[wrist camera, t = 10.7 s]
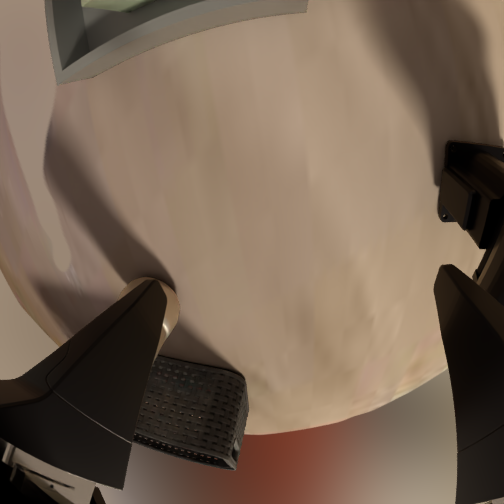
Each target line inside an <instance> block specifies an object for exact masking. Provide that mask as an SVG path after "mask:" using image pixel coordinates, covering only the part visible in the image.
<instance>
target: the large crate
mask: <svg viewBox="0 0 504 504" xmlns="http://www.w3.org/2000/svg"><path fill="white" fill-rule="evenodd" d="M307 5H308V0H156V1H153V2H151V3H149V4H147V5H144V6H142V7H140V8H138V9H136V10H134V11H132V12H130V13H125V12H119V11H113V10H106V9H98V8H89V7H82V5H81V0H45V13H46V22H47V32H48V39H49V45H50V51H51V57H52V62H53V68H54V72H55V77H56V82H57V86H58V85H62V84H66V83H70V82H75V81H79V80H84V79H89V78H93V77H95V76H97V75H98V74H100V73H102V72H104V71H106V70H108V69H109V68H111V67H113V66H115V65H117V64H119V63H121V62H123V61H125V60H127V59H130V58H132V57H134V56H136V55H138V54H141V53H143V52H145V51H148V50H150V49H152V48H155V47H157V46H160V45H162V44H165V43H168V42H170V41H173V40H176V39H179V38H182V37H185V36H188V35H191V34H194V33H197V32H201V31H204V30H208V29H211V28H215V27H219V26H223V25H227V24H231V23H236V22H240V21H245V20H251V19H256V18H262V17H268V16H276V15H284V14H293V13H305V12H307Z"/></svg>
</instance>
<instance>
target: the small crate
mask: <svg viewBox="0 0 504 504" xmlns="http://www.w3.org/2000/svg"><path fill="white" fill-rule="evenodd" d="M153 1H156V0H81V5H82V7H89V8H98V9H106V10H113V11H119V12H125V13H130V12H132V11H134V10H136V9H138V8H140V7H142V6H144V5H147V4H149V3H151V2H153Z"/></svg>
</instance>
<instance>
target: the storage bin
mask: <svg viewBox="0 0 504 504" xmlns="http://www.w3.org/2000/svg"><path fill="white" fill-rule="evenodd" d="M145 402H147V403H145ZM156 405H157V406H156ZM163 407H164V408H163ZM180 412H181V413H180ZM248 412H249V404H248V395H247V385H246V382H245V380H244V379H243V378H242V377H240V376H239V375H237V374H234V373H232V372H229V371H226V370H221V369H218V368H214V367H208V366H203V365H198V364H193V363H188V362H184V361H179V360H175V359H170V358H166V357H162V356H158V355H157V357H156V359H155V361H154V363H153V365H152V368H151V372H150V375H149V379H148V382H147V386H146V390H145V393H144V397H143V401H142V405H141V409H140V413H139V417H138V421H137V425H136V429H135V433H134V434H136V435H134V438H133V442H134V443H137V444H139V445H142V446H144V447H147V448H150V449H153V450H156V451H158V452H161V453H164V454H168V455H171V456H174V457H178V458H181V459H184V460H188V461H191V462H195V463H199V464H203V465H207V466H212V467H216V468H221V469H227V470H236V468H237V467H236V466H237V463H238V462H237V461H238V457H239V455H240V448H241V445H242V439H243V435H244V430H245V427H246V420H247V417H248ZM141 414H142V415H141ZM191 415H193V416H191ZM199 417H201V418H199ZM158 420H160V421H158ZM169 423H171V424H169ZM175 425H178V426H175ZM155 427H156V428H155ZM187 428H189V429H187ZM147 430H148V431H147ZM194 430H197V431H194ZM174 433H175V434H174ZM139 436H142V437H139ZM165 436H166V437H165ZM145 438H147V440H146V439H145ZM172 438H173V439H172ZM138 440H140V441H138ZM150 440H153V442H152V441H150ZM183 441H184V442H183ZM156 442H158V443H159V444H158V443H156ZM149 444H151V445H149ZM162 444H165V446H164V445H162ZM156 446H157V447H156ZM168 446H171V448H170V447H168ZM161 448H163V449H161ZM174 448H178V449H174ZM168 450H169V451H168ZM181 450H184V451H181ZM188 451H189V452H191V453H188ZM173 452H175V453H173ZM194 453H196V454H197V455H195V454H194ZM181 454H182V455H181ZM201 455H204V456H201ZM187 456H189V457H187ZM207 456H208V457H211V458H207ZM214 458H217V460H216V459H214ZM200 459H201V460H200ZM207 461H209V462H207Z"/></svg>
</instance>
